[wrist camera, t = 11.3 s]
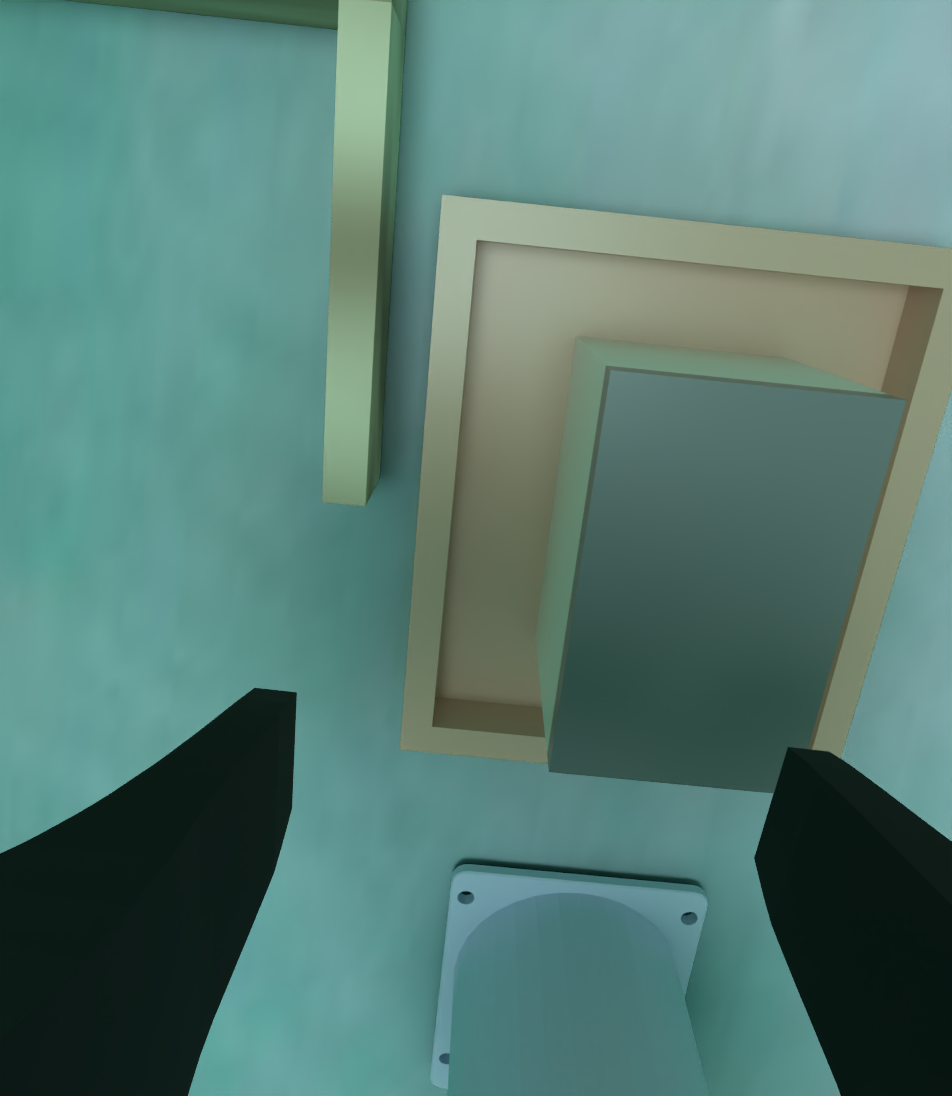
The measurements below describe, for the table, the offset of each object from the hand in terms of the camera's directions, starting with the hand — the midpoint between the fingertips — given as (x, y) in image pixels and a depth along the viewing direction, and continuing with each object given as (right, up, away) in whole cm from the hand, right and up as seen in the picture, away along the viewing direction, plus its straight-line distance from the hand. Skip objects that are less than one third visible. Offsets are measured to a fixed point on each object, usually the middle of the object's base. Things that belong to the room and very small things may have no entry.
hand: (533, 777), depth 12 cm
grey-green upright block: (+4, +4, +9) cm, 10 cm away
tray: (+4, +4, +9) cm, 11 cm away
